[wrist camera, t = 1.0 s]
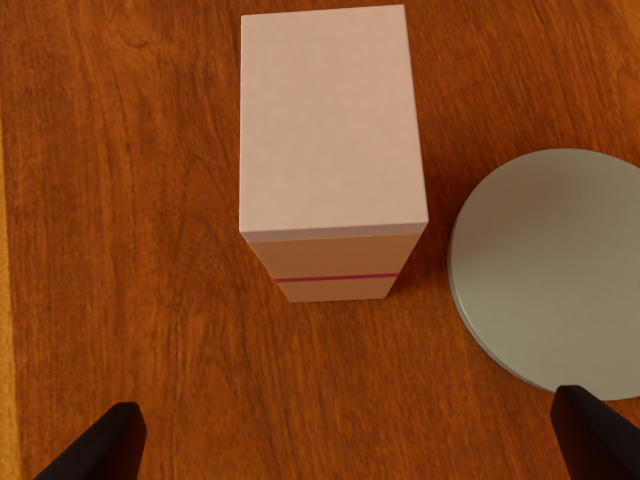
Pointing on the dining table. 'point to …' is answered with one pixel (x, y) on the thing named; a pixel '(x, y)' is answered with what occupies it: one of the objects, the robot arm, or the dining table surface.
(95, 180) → the dining table surface
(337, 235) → the cake slice
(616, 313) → the plate
